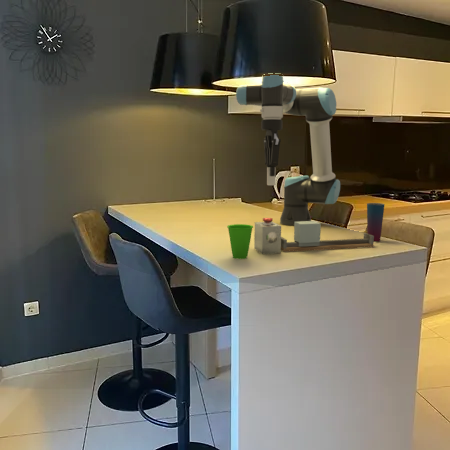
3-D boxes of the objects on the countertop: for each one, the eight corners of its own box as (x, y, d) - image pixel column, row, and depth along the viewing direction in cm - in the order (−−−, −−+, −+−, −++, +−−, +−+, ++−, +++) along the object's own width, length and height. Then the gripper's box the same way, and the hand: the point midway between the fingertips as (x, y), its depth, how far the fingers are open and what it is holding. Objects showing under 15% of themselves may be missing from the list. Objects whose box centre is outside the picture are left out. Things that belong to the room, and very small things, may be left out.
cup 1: (248, 261, 168) (248, 229, 166) (223, 259, 171) (223, 227, 170) (256, 255, 176) (256, 225, 175) (232, 253, 180) (232, 223, 178)
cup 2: (384, 239, 205) (386, 203, 202) (379, 242, 199) (381, 205, 197) (368, 238, 208) (370, 202, 206) (362, 240, 203) (364, 204, 200)
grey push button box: (254, 248, 188) (254, 222, 187) (271, 247, 190) (272, 221, 188) (262, 254, 178) (263, 227, 177) (281, 253, 180) (281, 226, 178)
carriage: (293, 243, 190) (294, 221, 188) (313, 242, 191) (314, 220, 190) (299, 246, 184) (300, 224, 182) (319, 246, 186) (320, 223, 184)
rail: (278, 248, 188) (278, 236, 188) (365, 244, 196) (366, 233, 196) (284, 251, 183) (284, 240, 182) (373, 247, 191) (373, 235, 190)
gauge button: (261, 238, 185) (261, 217, 184) (270, 238, 186) (270, 217, 184) (264, 240, 181) (264, 219, 180) (273, 240, 182) (273, 219, 181)
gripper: (256, 119, 183) (256, 183, 187) (267, 118, 171) (266, 187, 175) (276, 119, 185) (275, 183, 189) (288, 118, 172) (286, 186, 176)
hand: (271, 185), depth 182 cm, fingers closed
